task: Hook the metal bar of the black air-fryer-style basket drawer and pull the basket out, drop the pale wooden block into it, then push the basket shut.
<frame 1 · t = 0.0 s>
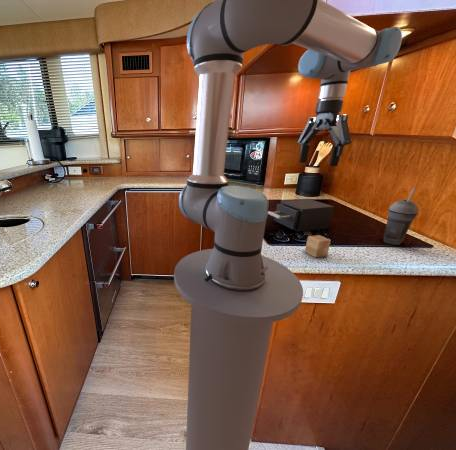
hand: (316, 164, 88), 27 cm above the countertop, tool pointing down, fingers open, 13 cm apart
basket: (292, 215, 101), point 5 cm above the countertop, slide at 1.0 cm
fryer: (301, 224, 103), on the countertop
block: (315, 253, 78), on the countertop
beverage cup: (391, 242, 85), on the countertop
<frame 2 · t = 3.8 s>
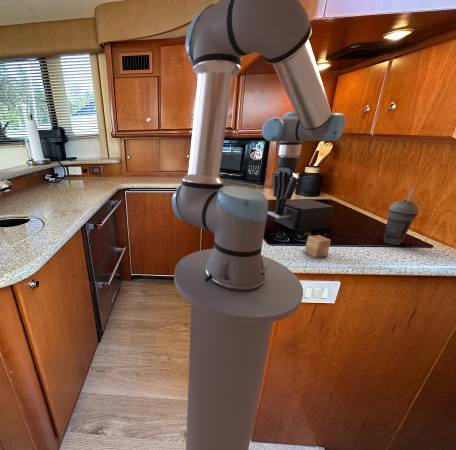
hand: (278, 214, 99), 6 cm above the countertop, tool pointing down, fingers closed
basket: (292, 215, 101), point 5 cm above the countertop, slide at 1.1 cm, touching gripper
everything else where it was.
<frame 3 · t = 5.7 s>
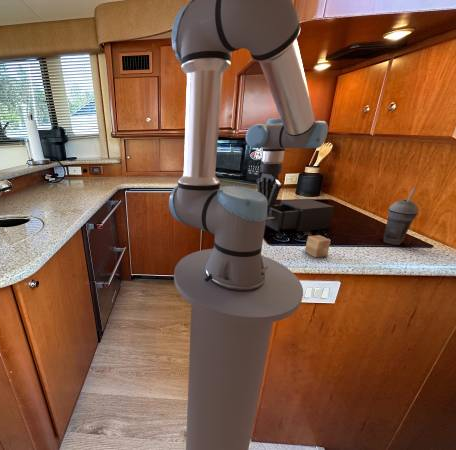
hand: (263, 220, 99), 4 cm above the countertop, tool pointing down, fingers closed
basket: (277, 216, 99), point 5 cm above the countertop, slide at 8.1 cm
everything else where it was.
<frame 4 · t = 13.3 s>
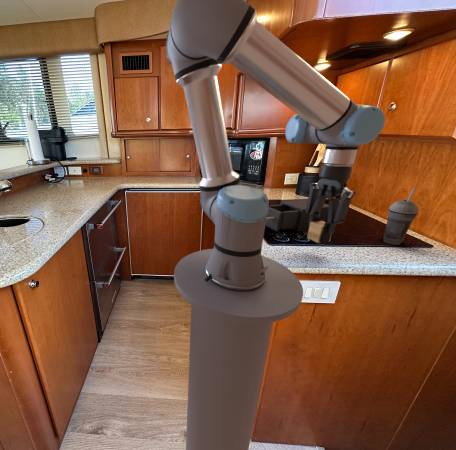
hand: (317, 238, 77), 5 cm above the countertop, tool pointing down, fingers closed on block, 4 cm apart
block: (318, 239, 77), point 5 cm above the countertop, touching gripper
everything else where it was.
when the fingers open (10 cm above the countertop, at t = 18.3 s): block drops 7 cm, resting on basket.
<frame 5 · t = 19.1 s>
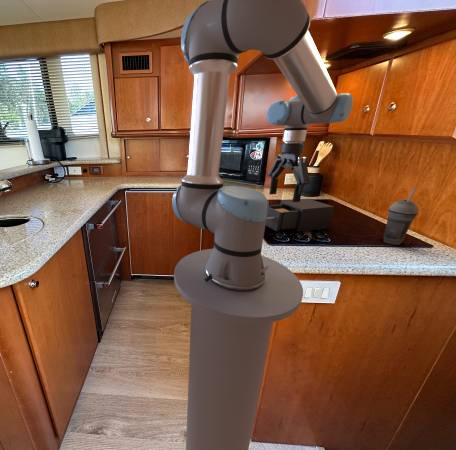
hand: (283, 197, 97), 13 cm above the countertop, tool pointing down, fingers open, 13 cm apart
basket: (277, 217, 99), point 5 cm above the countertop, slide at 8.4 cm, touching block
block: (279, 222, 101), point 2 cm above the countertop, touching basket
everything else where it was.
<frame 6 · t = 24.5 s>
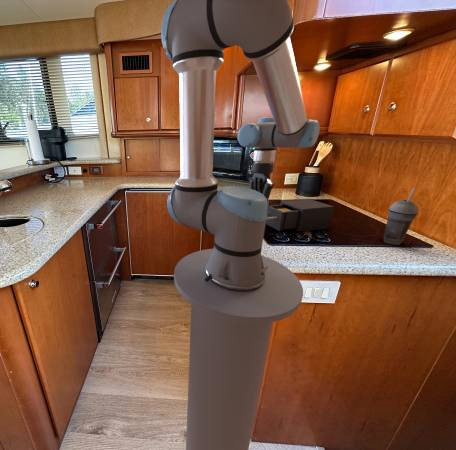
hand: (255, 220, 98), 4 cm above the countertop, tool pointing down, fingers closed
basket: (279, 216, 100), point 5 cm above the countertop, slide at 7.2 cm, touching block, gripper
block: (282, 222, 101), point 2 cm above the countertop, touching basket
everything else where it was.
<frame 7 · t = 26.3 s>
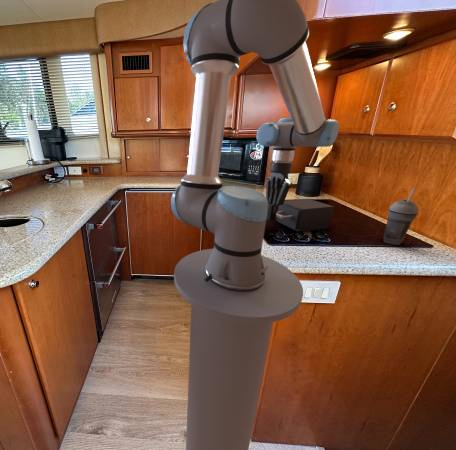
hand: (270, 219, 99), 4 cm above the countertop, tool pointing down, fingers closed
basket: (294, 215, 101), point 5 cm above the countertop, slide at 0.0 cm, touching block, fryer, gripper
block: (296, 221, 102), point 2 cm above the countertop, touching basket
everything else where it was.
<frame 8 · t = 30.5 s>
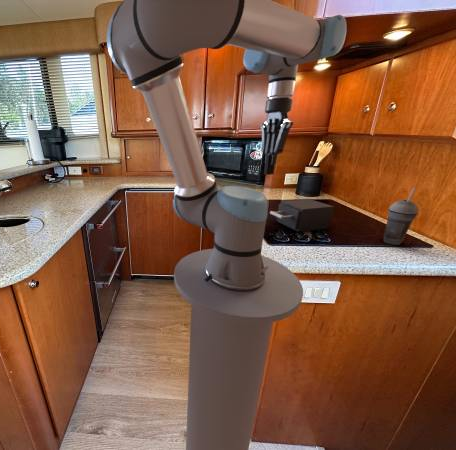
hand: (268, 174, 83), 24 cm above the countertop, tool pointing down, fingers closed
basket: (294, 215, 101), point 5 cm above the countertop, slide at 0.0 cm, touching block, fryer
everything else where it was.
at the end: basket pulled out 8.4 cm at the most during the clip, back to where it started at the end; block inside the target area in the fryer (2.8 cm from its centre), point 2.0 cm above the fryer's base; basket slide at 0.0 cm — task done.
